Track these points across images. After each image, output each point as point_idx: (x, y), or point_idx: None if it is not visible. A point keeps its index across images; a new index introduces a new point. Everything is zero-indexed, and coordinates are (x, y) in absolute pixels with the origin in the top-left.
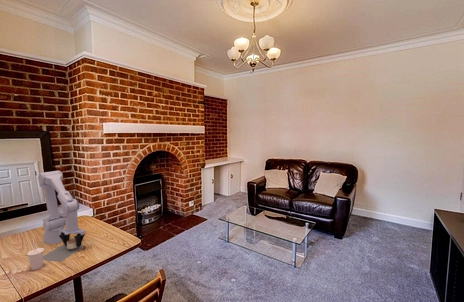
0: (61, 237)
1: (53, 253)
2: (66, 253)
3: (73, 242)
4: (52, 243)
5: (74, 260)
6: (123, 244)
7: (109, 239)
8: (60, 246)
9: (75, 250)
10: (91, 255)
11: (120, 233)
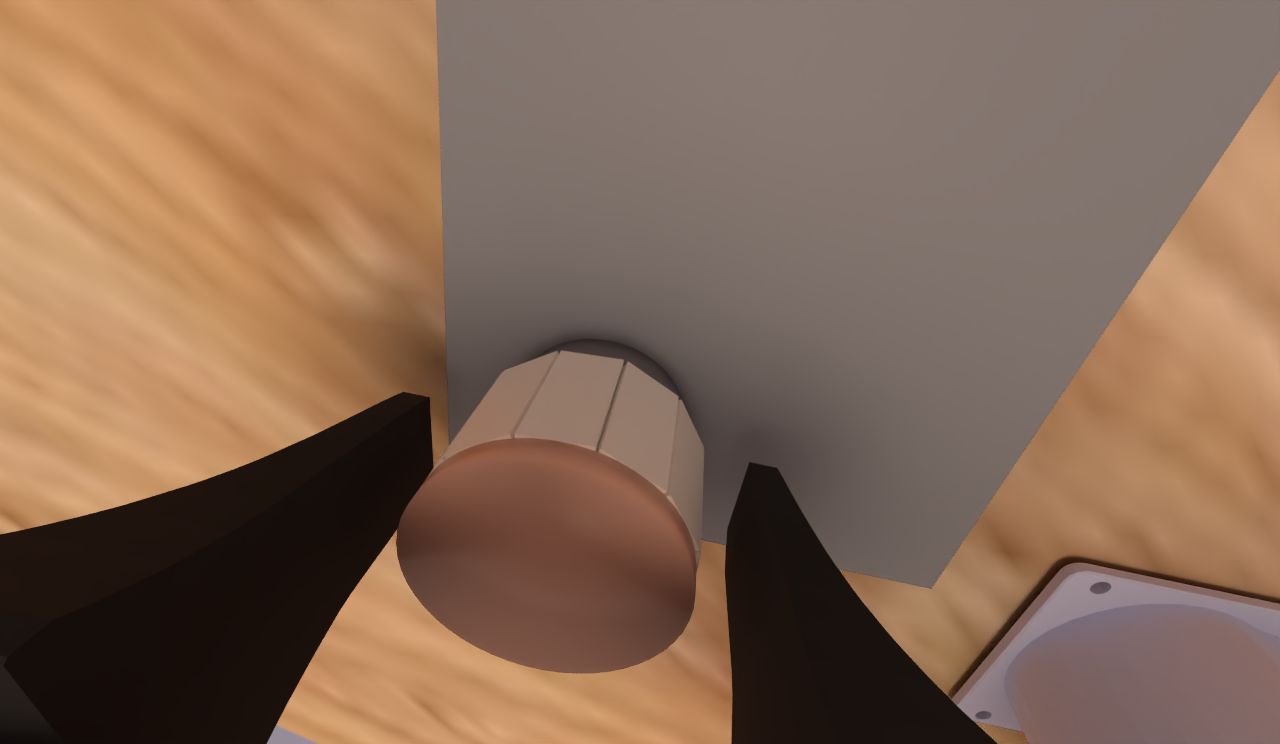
0: (911, 735)
1: (968, 262)
2: (619, 248)
3: (426, 481)
4: (1196, 643)
5: (304, 30)
6: (13, 509)
7: (329, 639)
8: (955, 534)
9: (509, 362)
10: (149, 232)
11: (320, 729)
